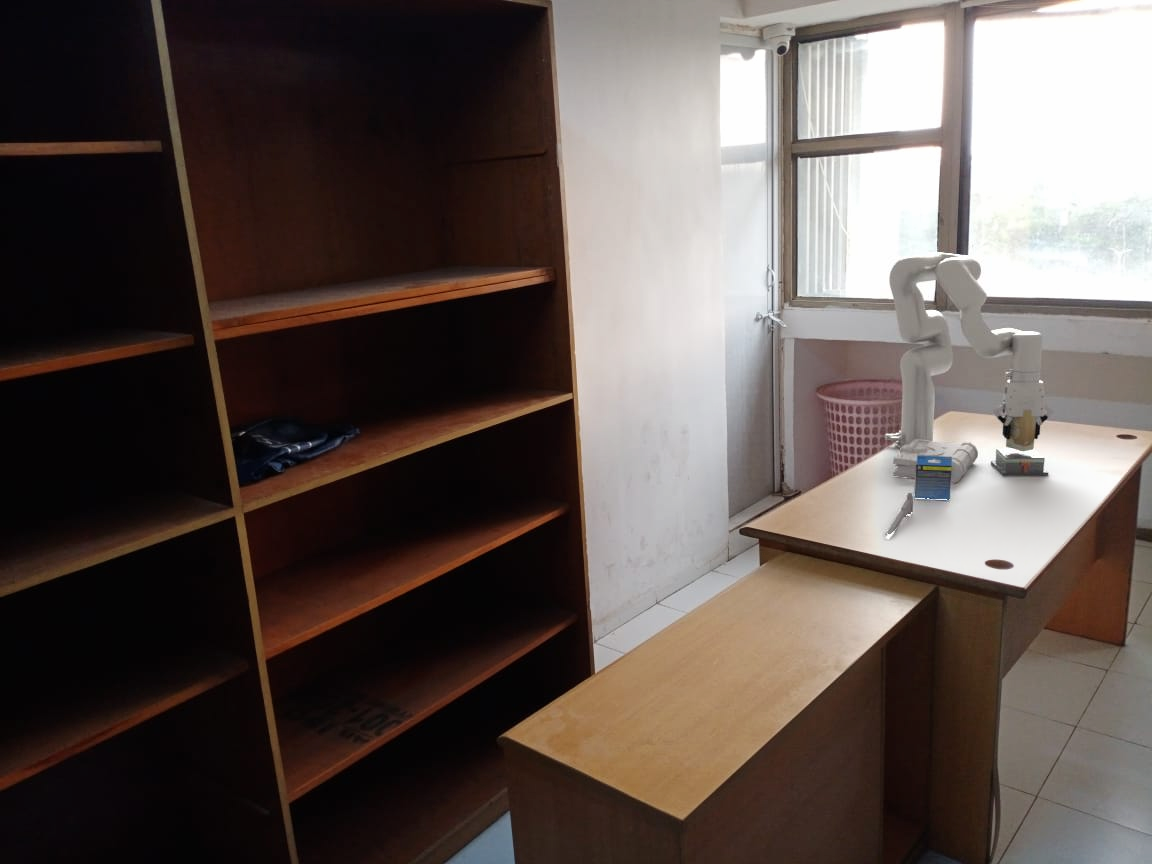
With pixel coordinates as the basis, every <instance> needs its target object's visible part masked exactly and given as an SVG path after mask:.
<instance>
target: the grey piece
mask: <svg viewBox="0 0 1152 864" xmlns="http://www.w3.org/2000/svg"><path fill="white" fill-rule="evenodd" d="M990 465H991V466H992V467H993V468H994V469H995V470H996V471H997V472H998V473H999V474H1000V476H1002V477H1049V471H1048V470H1047V469H1045V457H1044V456H1043V455H1042V454H1040V453H1039V451H1037V450H1036V449H1035V448H1034V449H1033V450H1028V451H1024V452H1023V451H1019V450H1016V449H1012V448H1009V447H1006V448H1003V447H1001V448H996V450H995V460H991V461H990Z"/></svg>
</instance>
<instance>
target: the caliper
mask: <svg viewBox="0 0 1152 864" xmlns="http://www.w3.org/2000/svg"><path fill="white" fill-rule="evenodd" d="M911 512H913V513H914V496H913V492H908V493H907V494H906V499H905V500H904V502H903V505H901V507H900V511H898V514H897V516H896V517H895V519H894V520H893V522H892V523H891V525H890V527H889V528H888V529H887V532H886V533H888V534H891V533H892V532H893V531H894V530H895V529H896V528H897V527H899V526H900V525H901V523H902V521H903V520H904V518H907V516H906V515H907V514H911ZM911 515H912V514H911ZM897 529H898V528H897ZM897 529H896V530H897Z"/></svg>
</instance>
